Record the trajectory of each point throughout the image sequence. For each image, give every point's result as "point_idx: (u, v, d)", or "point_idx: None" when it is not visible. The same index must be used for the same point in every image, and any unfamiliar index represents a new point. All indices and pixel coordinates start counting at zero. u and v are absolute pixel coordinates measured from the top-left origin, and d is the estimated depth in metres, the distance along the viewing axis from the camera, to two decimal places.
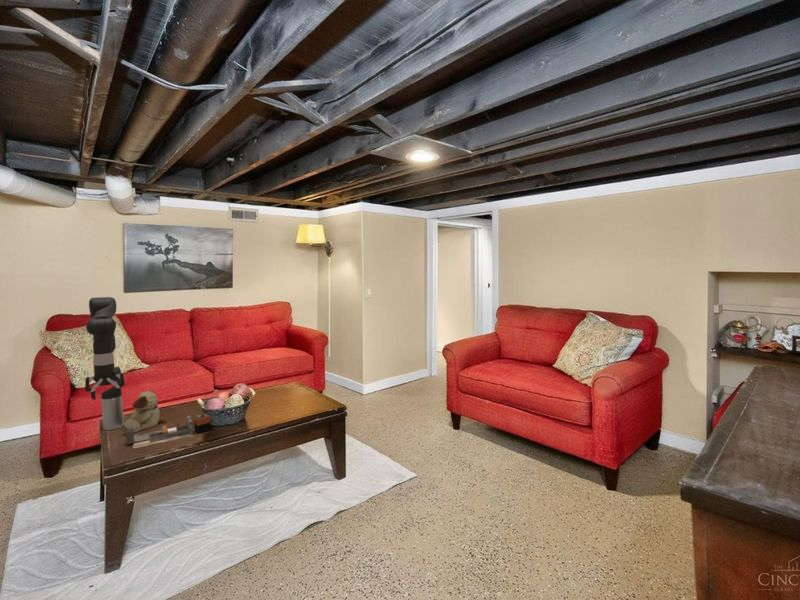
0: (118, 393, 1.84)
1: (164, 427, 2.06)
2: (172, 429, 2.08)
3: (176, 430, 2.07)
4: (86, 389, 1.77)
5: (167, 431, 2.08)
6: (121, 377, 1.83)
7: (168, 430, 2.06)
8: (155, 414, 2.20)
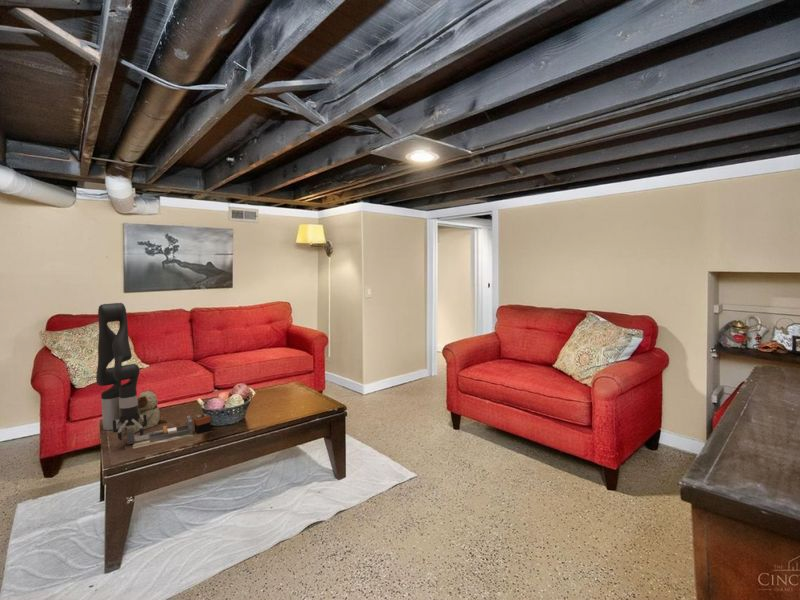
0: (141, 433, 2.00)
1: (164, 427, 2.06)
2: (172, 429, 2.08)
3: (176, 430, 2.07)
4: (114, 430, 1.93)
5: (167, 431, 2.08)
6: (144, 418, 2.00)
7: (168, 430, 2.06)
8: (155, 414, 2.20)
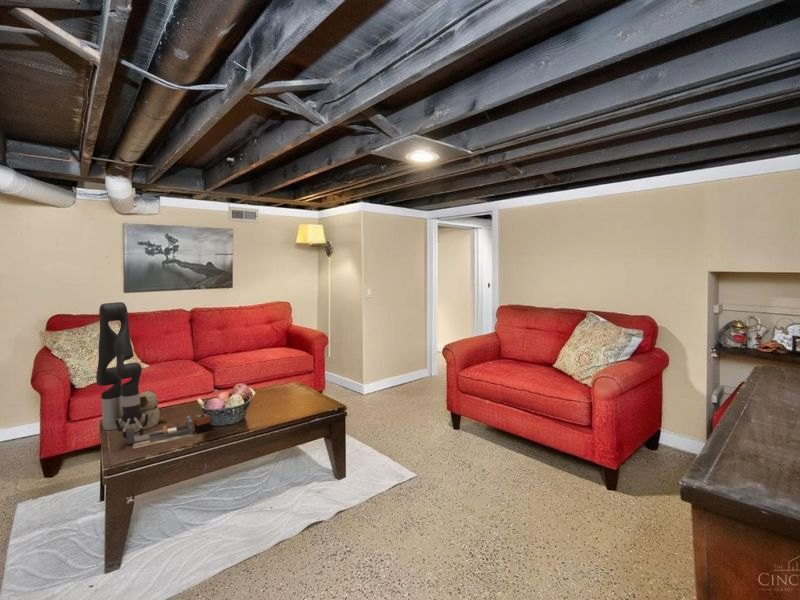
0: (141, 433, 2.00)
1: (164, 427, 2.06)
2: (172, 429, 2.08)
3: (176, 430, 2.07)
4: (119, 429, 1.94)
5: (167, 431, 2.08)
6: (146, 417, 2.00)
7: (168, 430, 2.06)
8: (155, 414, 2.20)
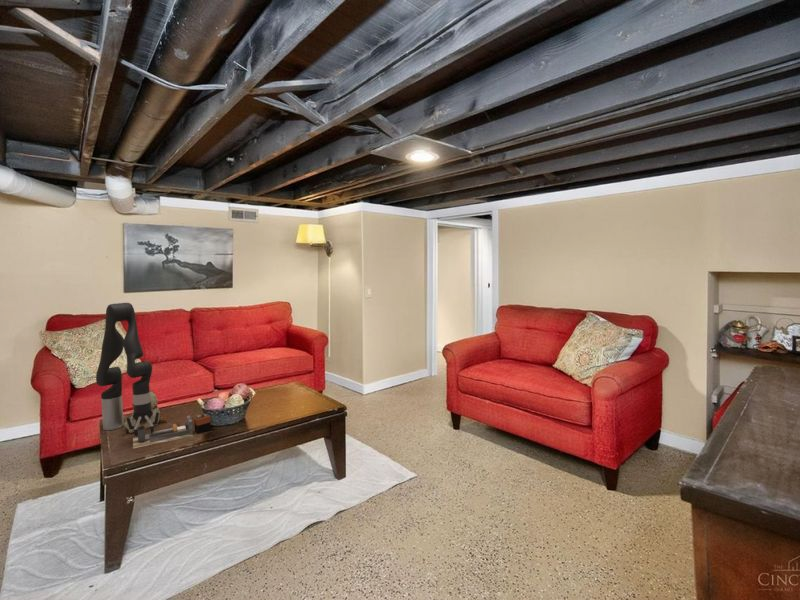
0: (152, 430, 2.02)
1: (174, 425, 2.08)
2: (181, 427, 2.10)
3: (185, 428, 2.10)
4: (130, 427, 1.96)
5: None
6: (156, 416, 2.02)
7: (177, 428, 2.09)
8: None
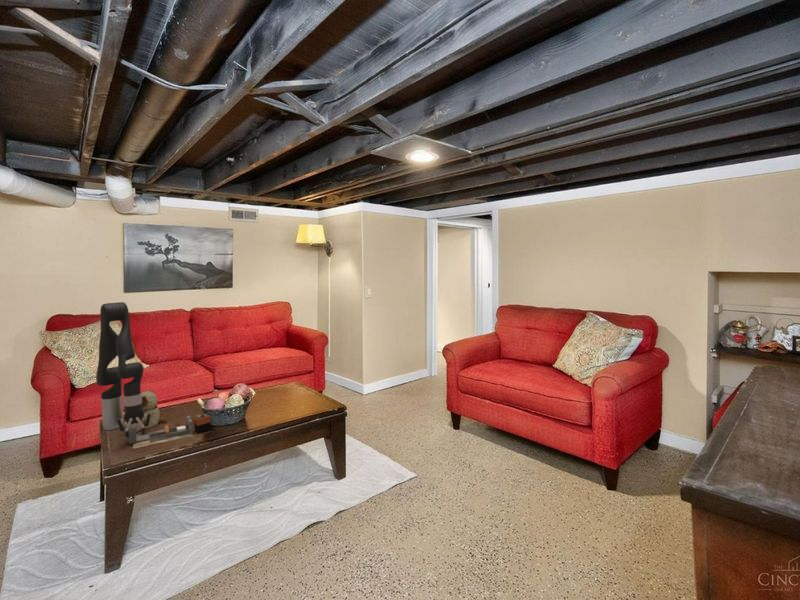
0: (143, 432, 2.00)
1: (166, 427, 2.06)
2: (181, 427, 2.10)
3: (185, 428, 2.10)
4: (121, 429, 1.94)
5: None
6: (148, 417, 2.00)
7: (177, 428, 2.09)
8: (155, 414, 2.20)
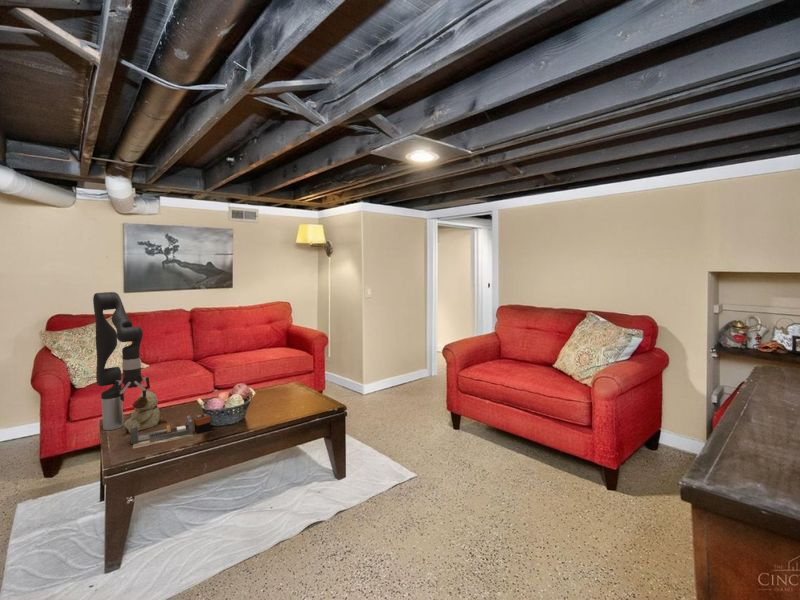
0: (144, 395, 2.01)
1: (168, 426, 2.07)
2: (181, 427, 2.10)
3: (185, 428, 2.10)
4: (116, 391, 1.94)
5: None
6: (147, 380, 2.00)
7: (177, 428, 2.09)
8: (155, 414, 2.20)
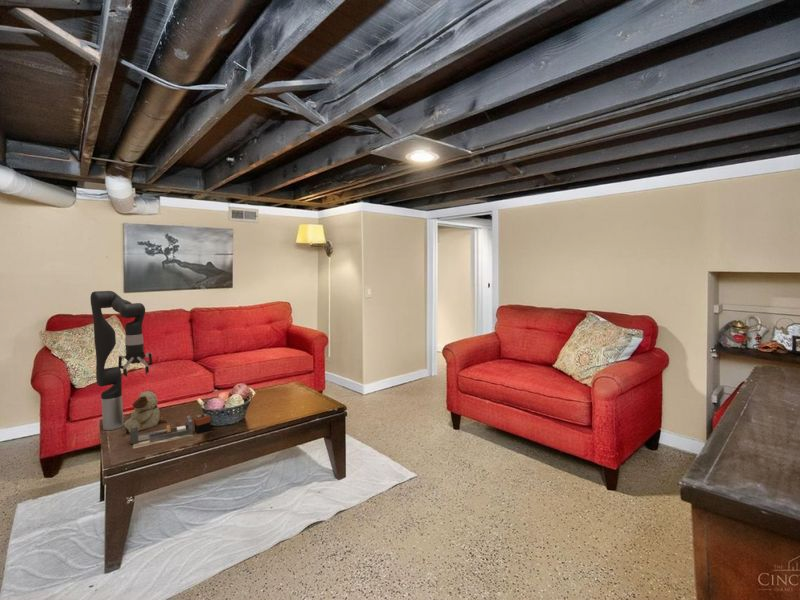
0: (147, 371, 2.04)
1: (168, 426, 2.07)
2: (181, 427, 2.10)
3: (185, 428, 2.10)
4: (119, 366, 1.96)
5: None
6: (149, 356, 2.03)
7: (177, 428, 2.09)
8: (155, 414, 2.20)
